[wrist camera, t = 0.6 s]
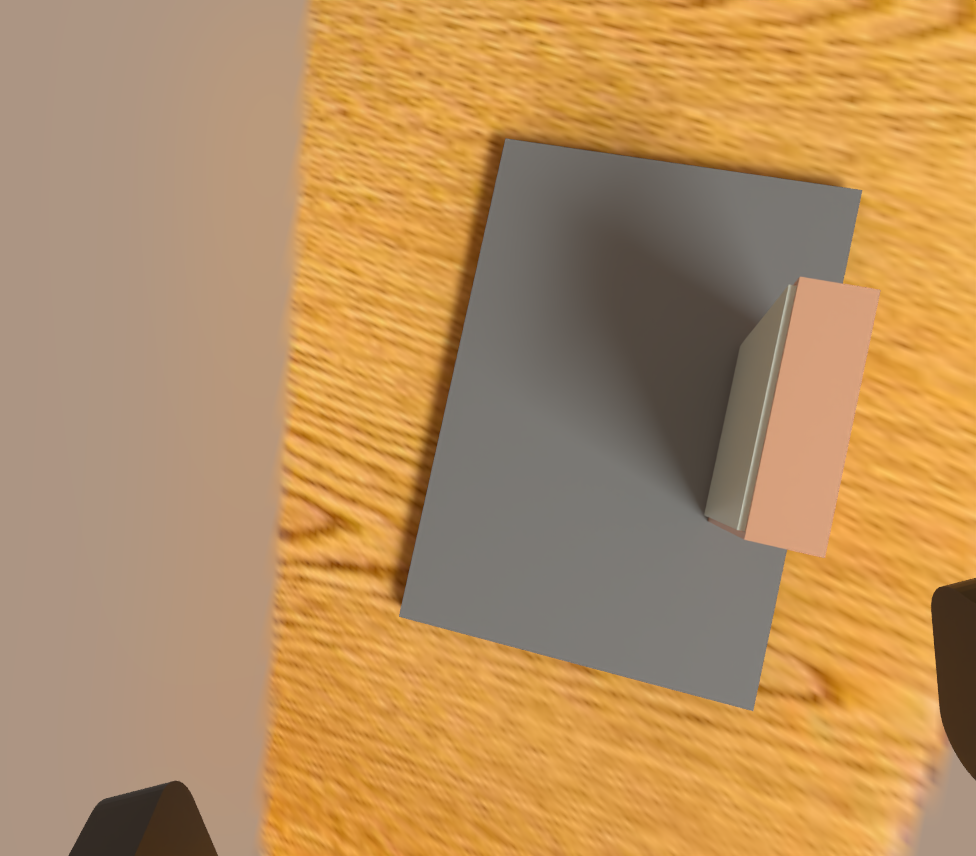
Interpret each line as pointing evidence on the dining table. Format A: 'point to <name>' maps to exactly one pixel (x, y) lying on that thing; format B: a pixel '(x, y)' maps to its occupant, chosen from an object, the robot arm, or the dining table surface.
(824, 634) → the dining table surface
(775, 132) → the dining table surface
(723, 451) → the tile
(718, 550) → the mat
